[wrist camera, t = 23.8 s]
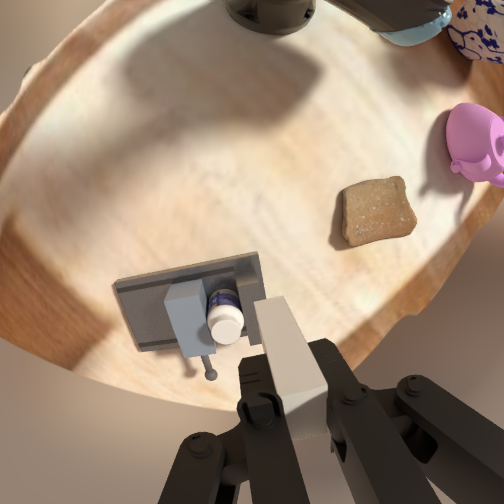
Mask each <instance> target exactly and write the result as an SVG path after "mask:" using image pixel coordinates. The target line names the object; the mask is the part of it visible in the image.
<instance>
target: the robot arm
mask: <svg viewBox="0 0 504 504" xmlns="http://www.w3.org/2000/svg"><path fill="white" fill-rule="evenodd" d="M325 1H326V2H328V3H330V4H332V5H334V6H336V7H337V8H339V9H341V10H343V11H344V12H346V13H348V14H349V15H351V16H352V17H354V18H356V19H357V20H359V21H360V22H362V23H363V24H365V25H366V26H368V27H369V28H370V30H372V31H373V32H375V33H377V34H380V35H381V36H383V37H384V38H386V39H387V40H388V41H390V42H391V43H393V44H395V45H400V46H413V45H417V44H420V43H423V42H425V41H427V40H429V39H431V38H432V37H434V36H436V35H437V34H438V33H440V32H441V31H442V30H441V28H443V27H445V26H447V24H448V23H449V22H450V20H451V17H452V13H451V10H450V8H449V6H448V5H450V4H451V3H452V2H453V1H454V0H325ZM226 8H227V11H228V12H229V14H230V16H231V17H232V18H233V19H234V20H235V21H236V22H238V23H239V24H240V25H242V26H244V27H246V28H248V29H250V30H253V31H256V32H260V33H264V34H273V35H280V34H288V33H292V32H295V31H298V30H300V29H302V28H303V27H305V26H306V25H307V24H308V22H309V21H310V19H311V18H312V16H313V14H314V12H315V0H226ZM254 305H255V310H256V315H257V320H258V325H259V330H260V335H261V340H262V345H263V349H264V353H265V354H261V355H256V356H251V357H246V358H242V360H241V362H240V364H239V366H238V370H239V380H240V389H241V399H240V400H239V402H238V404H237V412H238V415H239V417H240V420H241V421H240V423H239V424H238V425H237V426H236V427H234V428H233V429H231V430H229V431H227V432H225V433H223V434H220V435H217V436H216V435H214V434H212V433H208V432H198V433H194V434H192V435H190V436H188V437H187V438H185V439H184V441H183V442H182V444H181V445H180V448H179V450H178V453H177V455H176V458H175V460H174V463H173V465H172V468H171V471H170V473H169V476H168V478H167V481H166V483H165V486H164V489H163V491H162V494H161V496H160V499H159V501H158V504H237V500H238V495H239V489H240V484H241V483H242V482H244V481H247V480H249V482H250V489H251V495H252V502H253V504H310V502H309V498H308V495H307V492H306V488H305V485H304V481H303V478H302V474H301V471H300V467H299V464H298V460H297V457H296V453H295V450H294V446H293V443H292V441H297V440H301V439H305V438H308V437H312V436H315V435H319V434H323V433H326V432H327V425H328V428H329V430H330V433H331V453H333V452H334V451H335V453H336V456H337V458H338V461H339V463H340V466H341V468H342V471H343V473H344V476H345V478H346V481H347V483H348V486H349V488H350V491H351V493H352V496H353V498H354V501H355V503H356V504H441V502H440V500H439V499H438V497H437V495H436V493H435V492H434V490H433V488H432V487H431V485H430V483H429V482H428V480H427V478H428V479H429V480H430V481H431V482H432V483H434V484H435V485H436V486H437V487H438V488H439V489H440V490H441V491H443V492H444V493H445V494H446V495H447V496H448V497H450V498H451V499H452V500H453V501H454V502H455V503H456V504H504V430H503V429H502V428H500V427H498V426H497V425H496V424H494V423H493V422H491V421H490V420H488V419H487V418H485V417H484V416H482V415H481V414H479V413H478V412H477V411H475V410H474V409H472V408H471V407H469V406H468V405H466V404H465V403H463V402H462V401H460V400H459V399H457V398H456V397H454V396H453V395H452V394H450V393H449V392H447V391H446V390H444V389H443V388H441V387H440V386H438V385H437V384H435V383H434V382H433V381H431V380H430V379H428V378H426V377H424V376H422V375H410V376H407V377H405V378H403V379H401V381H400V382H399V383H398V385H397V388H391V389H384V390H373V389H370V388H369V387H368V386H366V385H363V384H361V383H359V382H358V380H357V379H356V377H355V376H354V374H353V372H352V371H351V369H350V368H349V366H348V364H347V363H346V361H345V360H344V359H343V357H342V355H341V353H339V350H338V349H337V347H336V346H335V344H334V343H333V342H331V341H329V340H328V339H326V338H324V339H320V340H316V341H313V342H309V343H307V342H306V340H305V338H304V336H303V334H302V332H301V330H300V328H299V326H298V324H297V322H296V320H295V318H294V316H293V314H292V312H291V310H290V308H289V306H288V304H287V302H286V300H285V298H284V296H278V297H274V298H269V299H265V300H260V301H255V302H254ZM426 477H427V478H426Z"/></svg>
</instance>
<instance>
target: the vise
mask: <svg viewBox="0 0 504 504" xmlns="http://www.w3.org/2000/svg"><path fill="white" fill-rule="evenodd" d="M197 279H202V283H203V287H204V291H205V294H206V298H207V302H208V305H209V299H210V297H211V296H212V294H213V293H214V292H216V291H218V290H221V289H229V290H232V291H234V292H236V293H237V294H238V295H239V297H240V302H241V306H242V311H243V316H244V325H243V328H242V330H241V335H240V337H243V336H248V337H249V342H250V346H252V345H257V344H262V340H261V335H260V330H259V325H258V320H257V315H256V310H255V305H254V302H255V301H260V300H265V299H266V295H265V289H264V283H263V278H262V272H261V266H260V261H259V255H258V252H257V251H256V252H251V253H246V254H241V255H236V256H231V257H227V258H222V259H217V260H212V261H207V262H202V263H197V264H192V265H187V266H182V267H177V268H172V269H167V270H162V271H157V272H152V273H147V274H142V275H137V276H132V277H127V278H122V279H117V281H116V282H115V286H116V289H117V292H118V294H119V297H120V300H121V302H122V305H123V308H124V310H125V313H126V316H127V318H128V321H129V323H130V326H131V328H132V330H133V333H134V335H135V337H136V340H137V342H138V345H139V347H140V349H141V351H142V352H146V351H154V350H162V349H170V348H177V347H180V346H179V343H178V340H177V338H176V335H175V332H174V330H173V327H172V324H171V321H170V318H169V315H168V312H167V310H166V307H165V304H164V300H165V297H166V295H167V292H168V290H169V288H170V286H171V284H177V283H182V282H187V281H192V280H197Z"/></svg>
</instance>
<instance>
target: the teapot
mask: <svg viewBox="0 0 504 504" xmlns="http://www.w3.org/2000/svg"><path fill="white" fill-rule="evenodd" d="M446 141H447V146H448V150H449V153H450V156H451V158H452V160H453V161H452V162H451V166H450V167H451V170H452V171H453V172H454V173H458V172H461V174H462V175H463V176H464V177H465V178H467V179H468V180H470V181H473V182H484V181H489V182H490V183H491V184H492V185H494V186H496V187H499V188H504V175H503V174H502V172H503V171H504V117H498V116H497V115H496V114H494V113H493V112H491V111H490V110H488V109H486V108H485V107H483V106H480V105H477V104H473V103H460V104H458V105H456V106H455V107H454V108H453V109H452V111H451V113H450V115H449V118H448V121H447V125H446Z"/></svg>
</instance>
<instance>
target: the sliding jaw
mask: <svg viewBox="0 0 504 504" xmlns="http://www.w3.org/2000/svg"><path fill="white" fill-rule="evenodd" d="M164 304H165V307H166V310H167V312H168V315H169V318H170V321H171V324H172V327H173V330H174V332H175V335H176V338H177V340H178V343H179V346H180V348H181V351H182V354H183V356H184V358H189V357H196V356H201V358H202V361H203V364H204V367H205V369H206V372H205V377H206V379H207V380H209V381H213V380H215V379H216V378H217V372H216V370H214V369H213V368H212V365H211V363H210V360H209V357H208V355H209V354H215V353H216V341H215V340H214V339H213V337H212V335H211V331H210V329H209V327H208V324H207V317H208V306H209V305H208V302H207V298H206V294H205V291H204V287H203V283H202V279H197V280H192V281H187V282H182V283H177V284H171V286H170V288H169V290H168V292H167V295H166V297H165V300H164Z"/></svg>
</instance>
